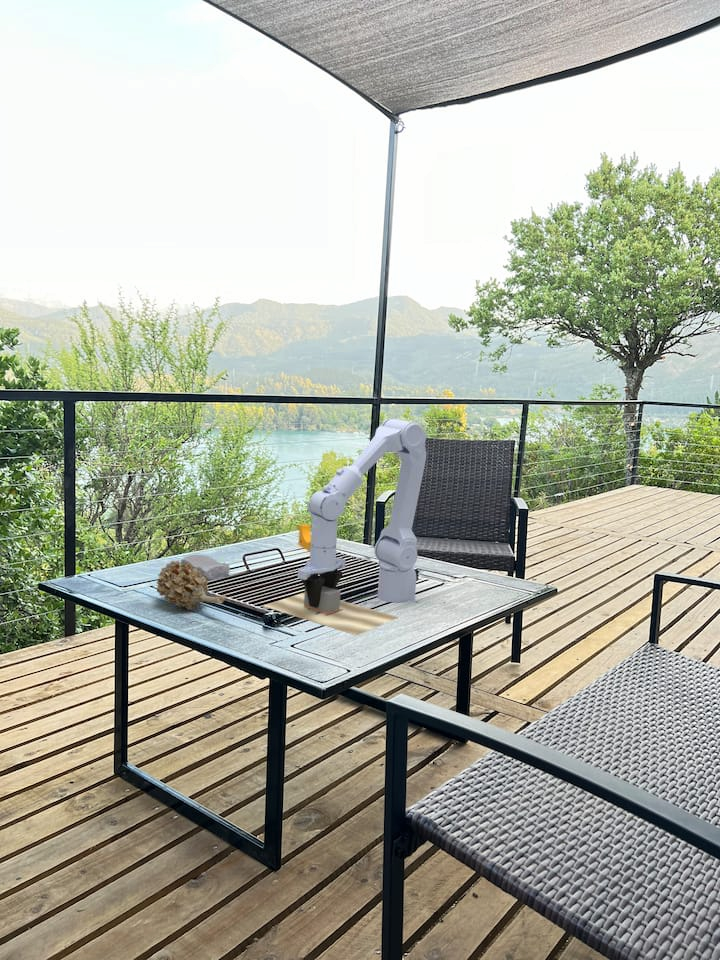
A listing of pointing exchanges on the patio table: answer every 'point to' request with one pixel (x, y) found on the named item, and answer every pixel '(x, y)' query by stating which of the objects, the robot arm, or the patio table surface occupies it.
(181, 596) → the dried flower head
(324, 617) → the board
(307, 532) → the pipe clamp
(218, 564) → the stone block
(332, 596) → the block
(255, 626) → the patio table surface
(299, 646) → the patio table surface
